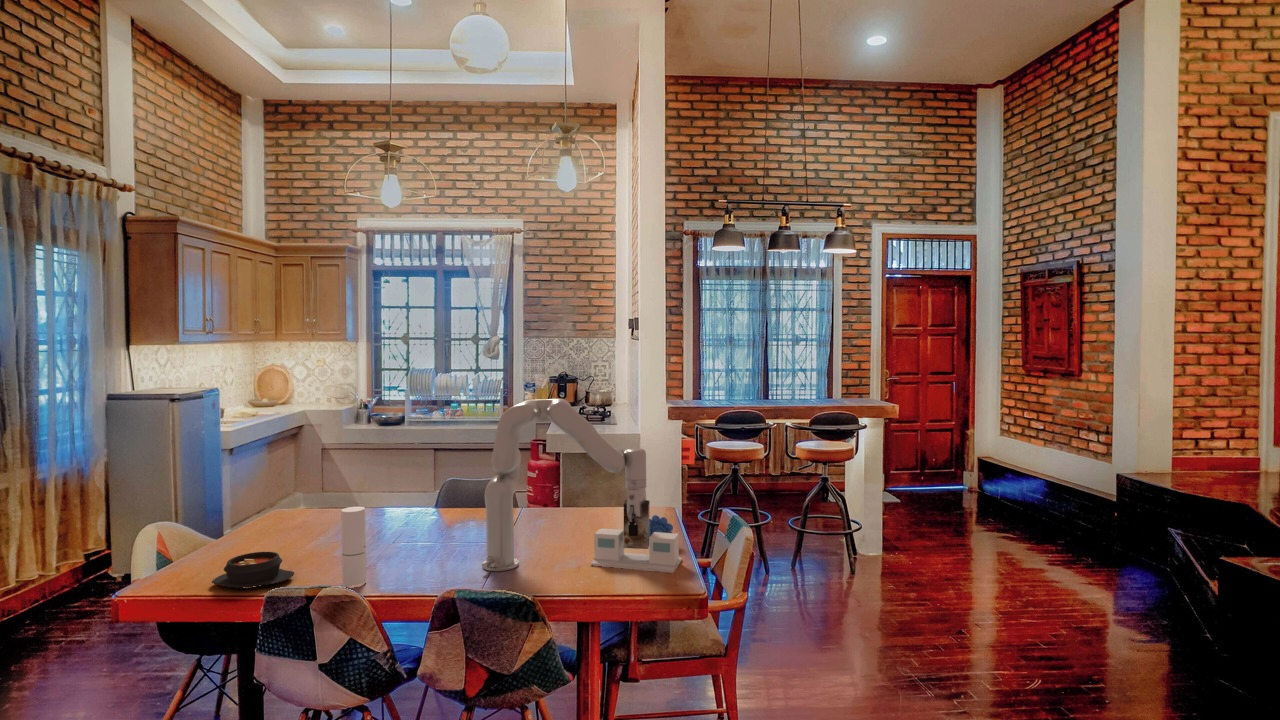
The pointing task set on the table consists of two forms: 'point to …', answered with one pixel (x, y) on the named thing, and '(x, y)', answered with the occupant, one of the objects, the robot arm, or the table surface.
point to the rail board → (613, 555)
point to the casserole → (253, 570)
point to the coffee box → (643, 528)
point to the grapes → (659, 525)
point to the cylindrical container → (353, 546)
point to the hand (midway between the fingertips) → (636, 532)
